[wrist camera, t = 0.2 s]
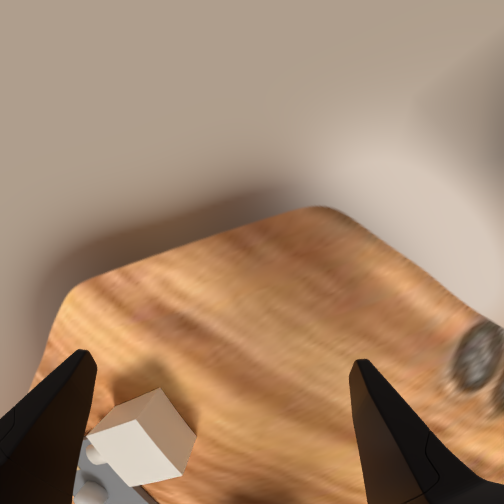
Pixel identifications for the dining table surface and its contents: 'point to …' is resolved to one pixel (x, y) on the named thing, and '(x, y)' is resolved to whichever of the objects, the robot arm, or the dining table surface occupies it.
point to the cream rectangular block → (142, 440)
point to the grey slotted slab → (104, 484)
